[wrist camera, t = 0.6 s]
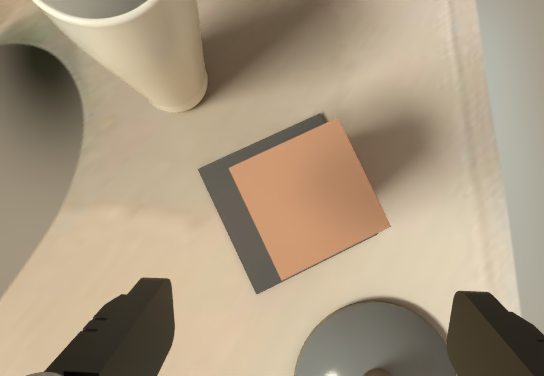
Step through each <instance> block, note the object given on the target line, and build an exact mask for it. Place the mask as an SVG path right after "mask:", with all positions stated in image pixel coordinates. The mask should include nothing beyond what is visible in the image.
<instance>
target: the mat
mask: <svg viewBox="0 0 544 376" xmlns="http://www.w3.org/2000/svg"><path fill="white" fill-rule="evenodd" d="M323 124H325V123H324V121H323V119H322V116H321V114H318V115H315V116H313V117H311V118H309V119H307V120H305V121H302V122H300V123H298V124H296V125H294V126H291V127H289V128H287V129H285V130H283V131H281V132H278V133H276V134H274V135H272V136H270V137H267V138H265V139H263V140H261V141H259V142H256V143H254V144H252V145H250V146H248V147H246V148H243V149H241V150H239V151H237V152H235V153H232V154H230V155H228V156H226V157H224V158H222V159H219V160H217V161H215V162H213V163H211V164H208V165H206V166H204V167H202V168H200V169H198V171H199V173H200V175H201V177H202V179H203V181H204V183H205V185H206V188H207V190H208V192H209V194H210V196H211V198H212V200H213V203H214V205H215V207H216V209H217V211H218V213H219V215H220V217H221V220H222V222H223V224H224V226H225V228H226V230H227V232H228V235H229V237H230V239H231V241H232V243H233V245H234V247H235V250H236V252H237V254H238V256H239V258H240V260H241V262H242V264H243V267H244V269H245V271H246V273H247V275H248V277H249V279H250V282H251V284H252V286H253V288H254V290H255V292H256V294H259V293H261V292H263V291H265V290H267V289H269V288H271V287H273V286H275V285H277V284H279V283H281V282H283V281H285V280H287V279H289V278H291V277H293V276H295V275H297V274H299V273H301V272H303V271H305V270H307V269H309V268H311V267H313V266H315V265H317V264H319V263H321V262H323V261H325V260H327V259H329V258H331V257H333V256H335V255H337V254H339V253H341V252H343V251H345V250H347V249H349V248H351V247H353V246H355V245H357V244H359V243H361V242H363V241H365V240H367V239H369V238H371V237H373V236H375V235H377V234H378V233H377V234H375V235H373V236H371V237H369V238H367V239H365V240H363V241H361V242H359V243H357V244H355V245H353V246H351V247H349V248H346V249H344V250H342V251H340V252H338V253H336V254H334V255H332V256H330V257H328V258H326V259H324V260H322V261H320V262H318V263H316V264H314V265H312V266H310V267H308V268H306V269H304V270H302V271H300V272H298V273H296V274H294V275H292V276H290V277H288V278H286V279H284V280H281V278H280V276H279V274H278V272H277V270H276V268H275V266H274V263H273V261H272V259H271V257H270V255H269V253H268V251H267V249H266V246H265V244H264V242H263V240H262V238H261V236H260V234H259V232H258V230H257V227H256V225H255V223H254V221H253V219H252V217H251V215H250V213H249V210H248V208H247V206H246V204H245V202H244V200H243V198H242V196H241V193H240V191H239V189H238V187H237V185H236V183H235V181H234V179H233V177H232V174H231V172H230V170H229V168H230V167H232V166H234V165H236V164H238V163H240V162H243V161H245V160H247V159H249V158H251V157H253V156H256V155H258V154H260V153H262V152H264V151H266V150H269V149H271V148H273V147H275V146H277V145H279V144H282V143H284V142H286V141H288V140H290V139H293V138H295V137H297V136H299V135H301V134H303V133H306V132H308V131H310V130H312V129H314V128H316V127H319V126H321V125H323Z"/></svg>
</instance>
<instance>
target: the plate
mask: <svg viewBox="0 0 544 376" xmlns="http://www.w3.org/2000/svg"><path fill="white" fill-rule="evenodd" d="M376 368H379V369H383V370H386V371H387V372H389V373H390V374H391V375H392V376H456V371H455V369H454V367H453V366H452V364H451V362H450V359H449V356H448V351H447V346H446V344H445V343H444V341H443V339H442V338H441V337H440V335H439V334H438V333H437V331H436V330H435V329H434V328H433V327H432V326H431V325H430V324H429V323H427V322H426V321H425V320H424V319H422V318H421V317H420V316H418V315H416V314H415V313H413V312H411V311H410V310H408V309H406V308H403V307H401V306H399V305H396V304H392V303H388V302H381V301H366V302H359V303H355V304H351V305H348V306H346V307H343V308H341V309H339V310H337V311H335V312H334V313H332V314H330V315H329V316H328V317H326V318H325V319H324V320H323V321H321V322H320V323H319V325H318V326H317V327H316V328H315V329H314V330H313V331H312V333H311V334H310V335H309V337H308V338H307V340H306V341H305V343H304V345H303V347H302V349H301V352H300V354H299V357H298V360H297V364H296V367H295V374H294V376H363V375H364V374H365V373H366V372H367V371H369V370H371V369H376Z"/></svg>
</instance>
